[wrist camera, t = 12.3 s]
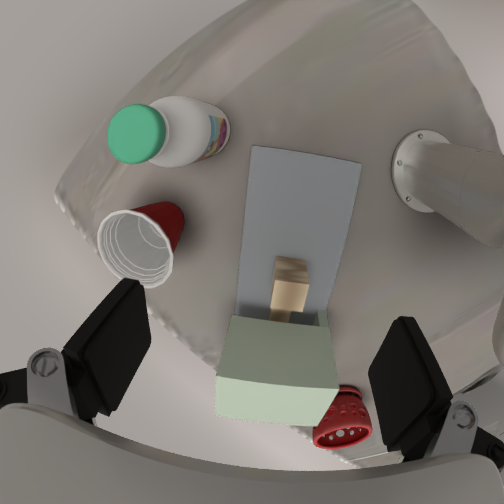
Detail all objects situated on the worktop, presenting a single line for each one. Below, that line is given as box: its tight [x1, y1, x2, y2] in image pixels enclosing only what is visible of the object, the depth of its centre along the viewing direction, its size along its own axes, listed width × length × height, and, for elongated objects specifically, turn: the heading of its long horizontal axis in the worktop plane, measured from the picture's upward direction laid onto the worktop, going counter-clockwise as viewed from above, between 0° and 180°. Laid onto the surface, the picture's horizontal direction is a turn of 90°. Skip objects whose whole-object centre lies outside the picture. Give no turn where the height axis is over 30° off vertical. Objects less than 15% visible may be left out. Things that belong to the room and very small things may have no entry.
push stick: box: [269, 256, 309, 323], centre depth 41 cm, size 4×20×7 cm, turn 174°
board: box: [235, 145, 362, 326], centre depth 42 cm, size 15×36×1 cm, turn 174°
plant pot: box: [313, 387, 372, 449], centre depth 50 cm, size 13×13×12 cm
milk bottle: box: [107, 96, 230, 168], centre depth 26 cm, size 8×8×20 cm
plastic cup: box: [97, 202, 184, 288], centre depth 36 cm, size 11×11×12 cm
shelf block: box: [215, 309, 340, 426], centre depth 39 cm, size 15×10×18 cm, turn 84°
